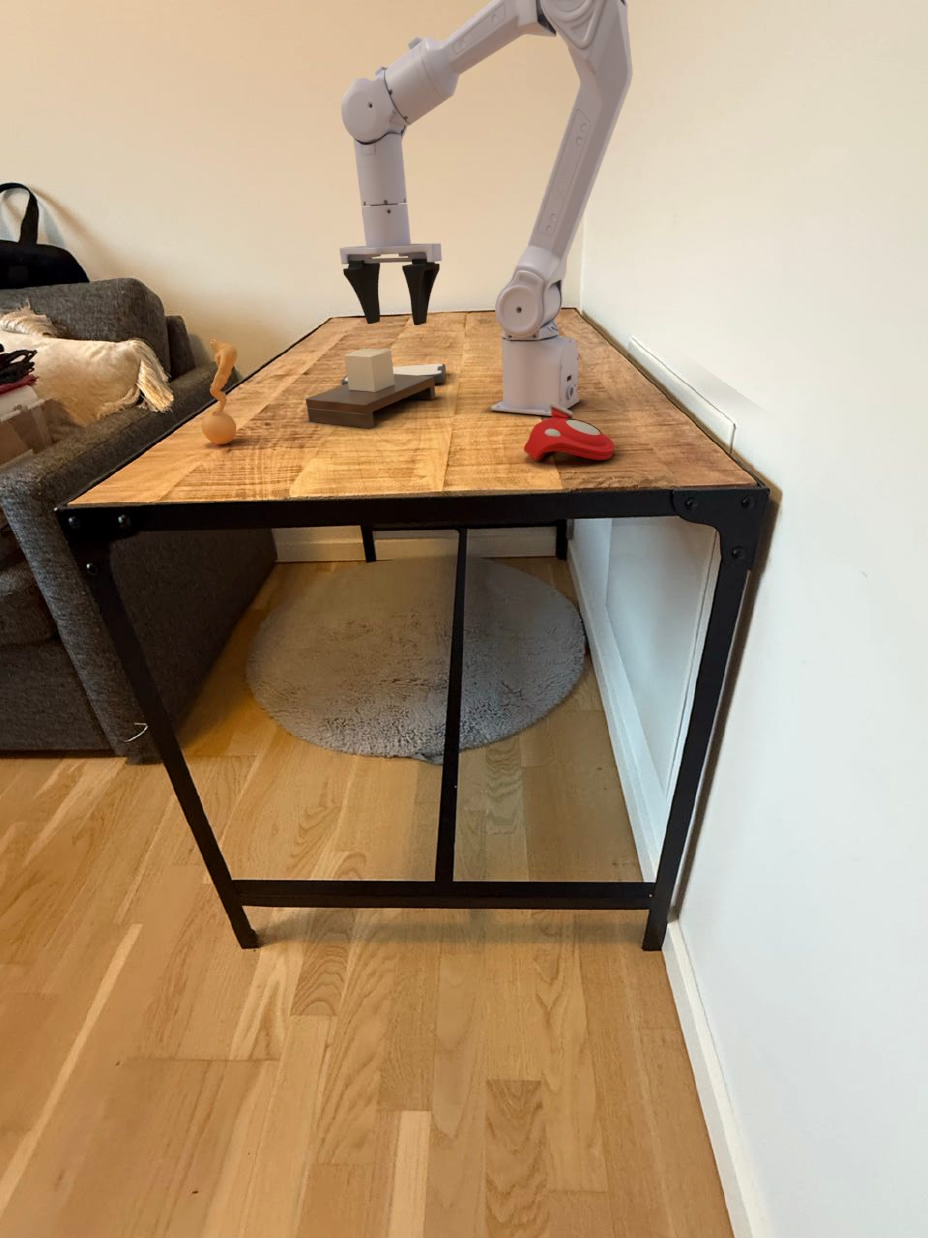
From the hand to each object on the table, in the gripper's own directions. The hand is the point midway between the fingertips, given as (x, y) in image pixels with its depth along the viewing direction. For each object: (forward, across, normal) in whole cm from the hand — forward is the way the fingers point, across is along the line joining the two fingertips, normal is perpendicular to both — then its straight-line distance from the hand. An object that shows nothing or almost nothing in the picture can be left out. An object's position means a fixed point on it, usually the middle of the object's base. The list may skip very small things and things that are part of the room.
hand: (396, 323), depth 90 cm
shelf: (+10, -2, -5) cm, 12 cm away
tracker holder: (+11, +30, -12) cm, 34 cm away
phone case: (+10, -9, +10) cm, 17 cm away
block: (+7, -2, -5) cm, 9 cm away
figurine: (+10, -10, -24) cm, 28 cm away
